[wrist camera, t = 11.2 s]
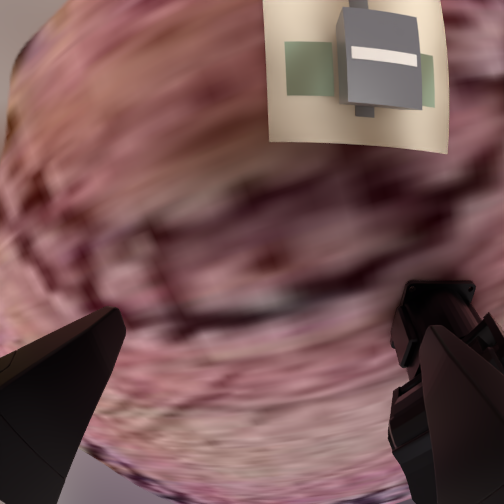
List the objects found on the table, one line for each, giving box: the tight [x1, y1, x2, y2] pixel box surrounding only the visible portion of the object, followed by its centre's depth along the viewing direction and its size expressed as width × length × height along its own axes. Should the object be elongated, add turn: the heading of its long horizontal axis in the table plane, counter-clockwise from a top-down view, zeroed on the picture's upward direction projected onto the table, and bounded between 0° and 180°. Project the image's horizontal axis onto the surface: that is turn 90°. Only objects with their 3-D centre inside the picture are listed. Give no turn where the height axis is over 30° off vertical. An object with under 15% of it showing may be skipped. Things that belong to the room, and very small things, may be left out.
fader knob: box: [336, 7, 422, 110], centre depth 11 cm, size 3×4×4 cm
